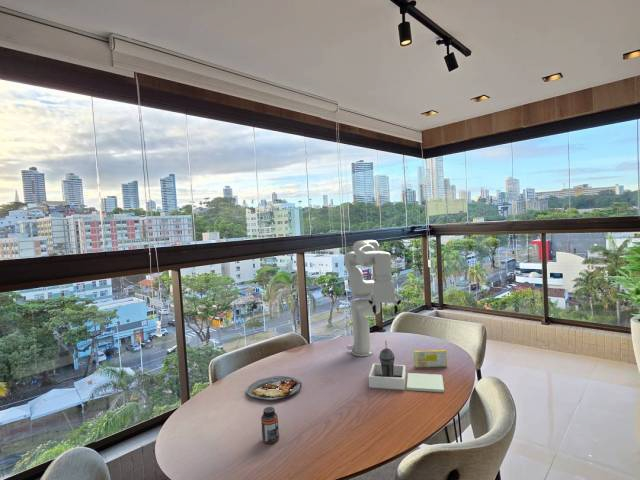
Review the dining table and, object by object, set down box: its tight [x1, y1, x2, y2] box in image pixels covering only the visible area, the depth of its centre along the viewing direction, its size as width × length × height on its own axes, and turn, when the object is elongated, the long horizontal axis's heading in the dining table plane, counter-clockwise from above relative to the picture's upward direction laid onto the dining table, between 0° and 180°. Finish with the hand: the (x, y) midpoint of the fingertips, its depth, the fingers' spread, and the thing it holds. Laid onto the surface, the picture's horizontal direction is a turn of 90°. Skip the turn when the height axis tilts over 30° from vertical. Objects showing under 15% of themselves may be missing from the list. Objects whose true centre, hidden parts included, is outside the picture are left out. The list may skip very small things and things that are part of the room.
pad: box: [406, 372, 445, 393], centre depth 169 cm, size 16×16×1 cm
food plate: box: [246, 375, 302, 401], centre depth 170 cm, size 25×23×4 cm
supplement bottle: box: [260, 406, 280, 445], centre depth 130 cm, size 6×6×11 cm
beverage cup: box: [378, 340, 395, 377], centre depth 173 cm, size 7×7×20 cm
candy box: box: [413, 349, 448, 368], centre depth 188 cm, size 16×2×8 cm, turn 84°
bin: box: [368, 363, 407, 391], centre depth 173 cm, size 16×16×5 cm
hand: (385, 313), depth 172 cm, fingers open, 9 cm apart
